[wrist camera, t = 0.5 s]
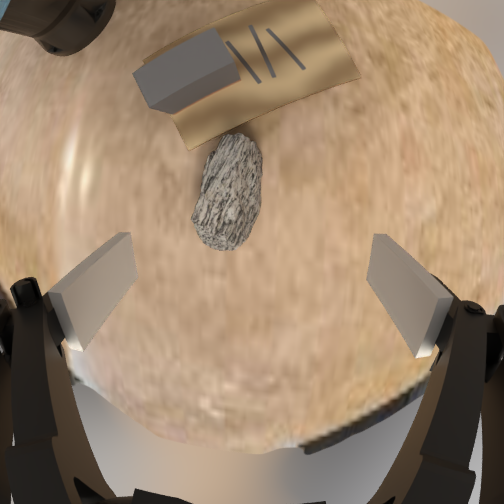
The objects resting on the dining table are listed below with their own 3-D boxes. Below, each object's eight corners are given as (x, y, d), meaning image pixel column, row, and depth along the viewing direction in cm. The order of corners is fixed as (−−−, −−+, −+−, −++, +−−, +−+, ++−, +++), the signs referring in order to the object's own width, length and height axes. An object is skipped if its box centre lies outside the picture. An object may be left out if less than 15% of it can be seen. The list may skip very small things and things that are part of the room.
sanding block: (174, 115, 33) (149, 107, 25) (159, 86, 32) (132, 73, 23) (241, 80, 31) (234, 61, 23) (224, 51, 30) (214, 27, 21)
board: (145, 62, 31) (142, 60, 30) (306, -7, 26) (307, -10, 25) (190, 150, 36) (188, 150, 35) (359, 78, 31) (361, 77, 30)
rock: (234, 121, 34) (215, 127, 26) (292, 146, 35) (292, 160, 26) (196, 217, 42) (171, 249, 34) (245, 239, 43) (233, 277, 34)
